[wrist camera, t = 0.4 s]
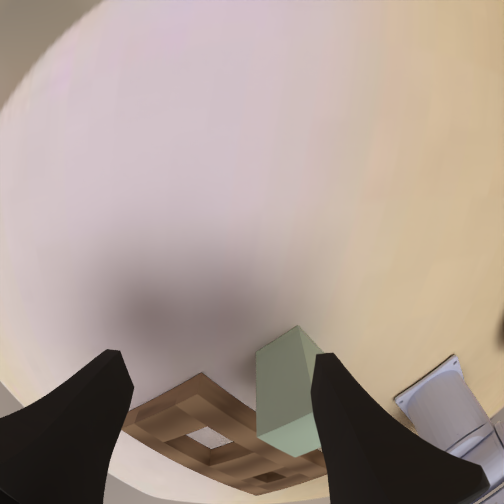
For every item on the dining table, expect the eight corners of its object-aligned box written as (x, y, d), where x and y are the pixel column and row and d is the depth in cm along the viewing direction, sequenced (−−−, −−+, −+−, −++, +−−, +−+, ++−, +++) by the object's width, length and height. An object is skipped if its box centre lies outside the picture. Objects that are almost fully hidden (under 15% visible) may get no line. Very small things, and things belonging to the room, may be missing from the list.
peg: (325, 354, 21) (349, 433, 14) (285, 378, 22) (295, 457, 15) (297, 325, 20) (316, 409, 13) (255, 352, 21) (256, 437, 14)
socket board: (330, 456, 28) (333, 471, 26) (256, 481, 31) (256, 495, 28) (201, 372, 22) (197, 394, 20) (127, 412, 25) (120, 429, 22)
